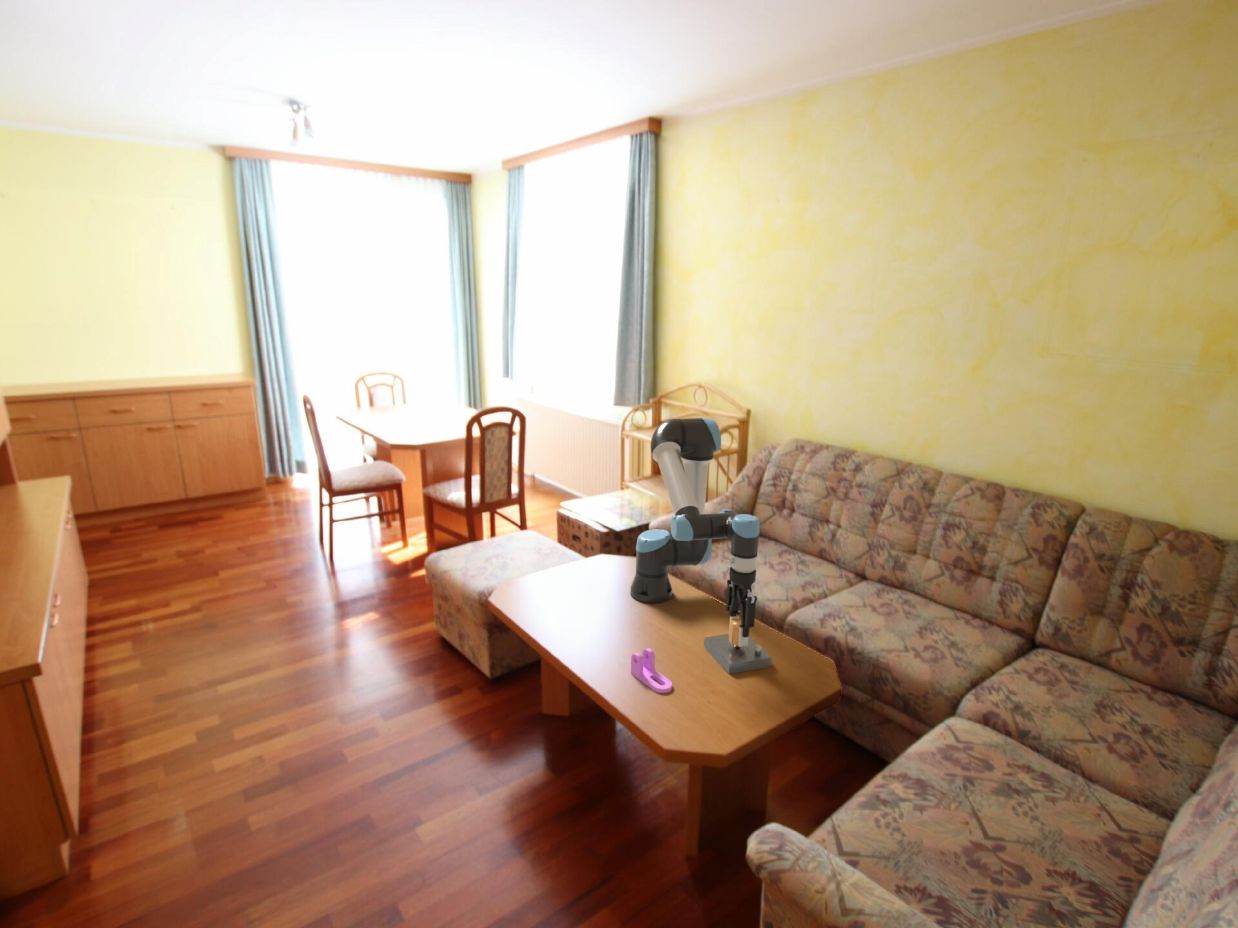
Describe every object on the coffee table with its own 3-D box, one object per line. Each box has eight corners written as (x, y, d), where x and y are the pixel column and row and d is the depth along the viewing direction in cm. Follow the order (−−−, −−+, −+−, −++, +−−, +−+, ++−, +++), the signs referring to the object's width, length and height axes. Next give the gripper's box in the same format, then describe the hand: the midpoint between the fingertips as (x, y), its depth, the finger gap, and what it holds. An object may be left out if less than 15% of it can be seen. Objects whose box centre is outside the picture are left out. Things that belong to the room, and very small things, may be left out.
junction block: (703, 646, 199) (705, 625, 198) (744, 639, 204) (745, 619, 202) (728, 673, 185) (730, 651, 183) (771, 666, 189) (773, 644, 188)
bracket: (630, 673, 184) (631, 651, 182) (646, 667, 187) (646, 646, 186) (660, 695, 174) (661, 672, 172) (676, 688, 177) (677, 666, 176)
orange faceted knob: (725, 638, 195) (727, 619, 193) (741, 636, 196) (742, 617, 195) (734, 647, 190) (735, 627, 188) (749, 644, 191) (751, 625, 190)
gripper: (717, 557, 195) (712, 628, 200) (747, 581, 178) (742, 658, 183) (739, 555, 197) (734, 625, 202) (771, 578, 180) (765, 654, 186)
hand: (738, 640), depth 193 cm, fingers closed on orange faceted knob, 5 cm apart
